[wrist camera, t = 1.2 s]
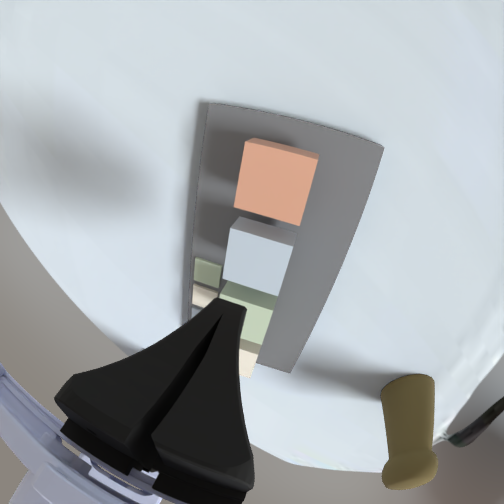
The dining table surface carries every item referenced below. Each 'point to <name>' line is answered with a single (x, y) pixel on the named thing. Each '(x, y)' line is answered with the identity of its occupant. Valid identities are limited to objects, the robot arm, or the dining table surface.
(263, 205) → the key terracotta
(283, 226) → the keypad base
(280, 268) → the key blue
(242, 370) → the key cream
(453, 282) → the dining table surface
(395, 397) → the cork
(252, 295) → the key sage
